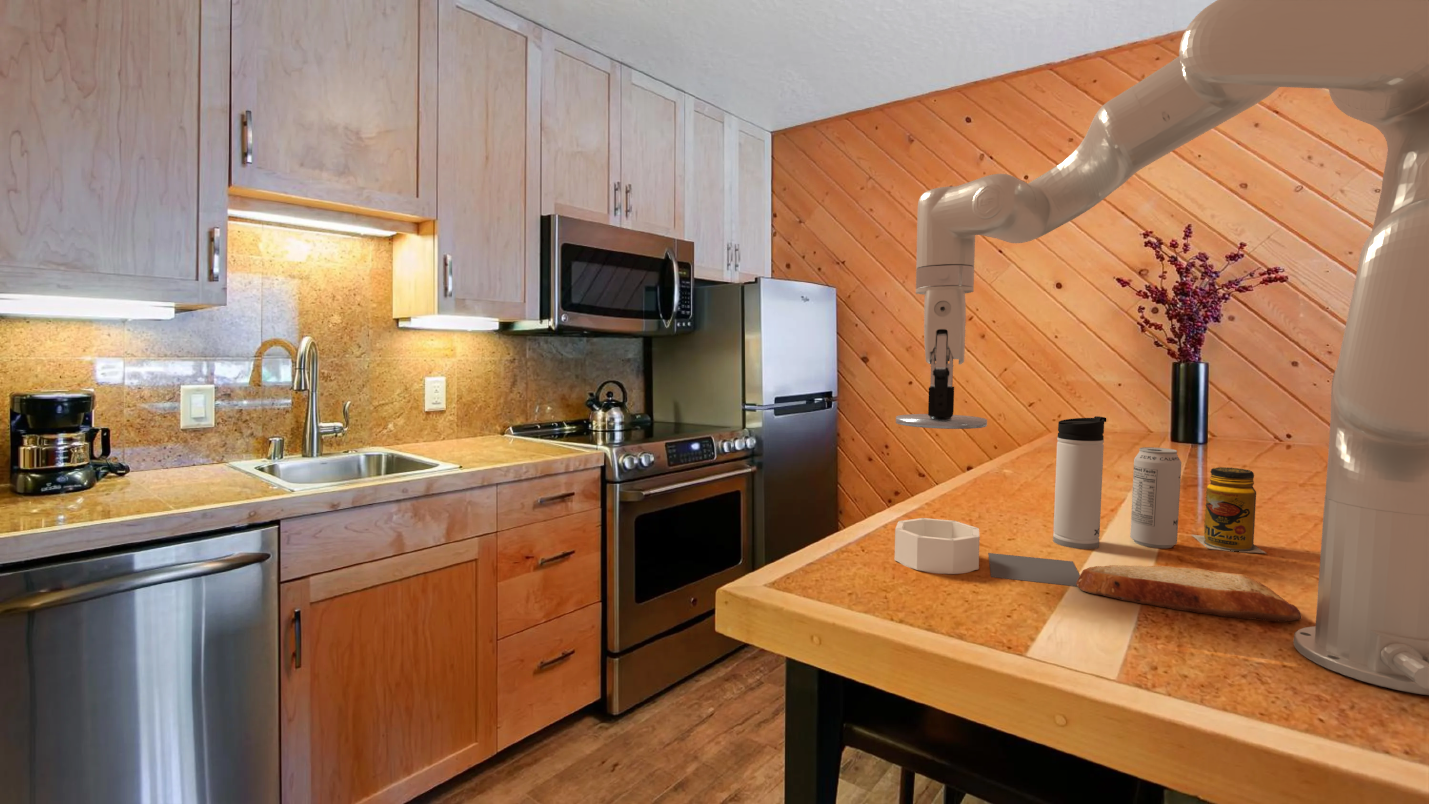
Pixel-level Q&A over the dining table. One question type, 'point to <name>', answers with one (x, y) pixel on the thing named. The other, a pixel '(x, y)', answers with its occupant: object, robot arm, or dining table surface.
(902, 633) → the dining table surface
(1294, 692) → the dining table surface
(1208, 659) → the dining table surface
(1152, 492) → the energy drink can
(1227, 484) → the condiment
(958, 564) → the bowl
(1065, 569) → the mat
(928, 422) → the lid
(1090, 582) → the bread slice
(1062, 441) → the travel mug
